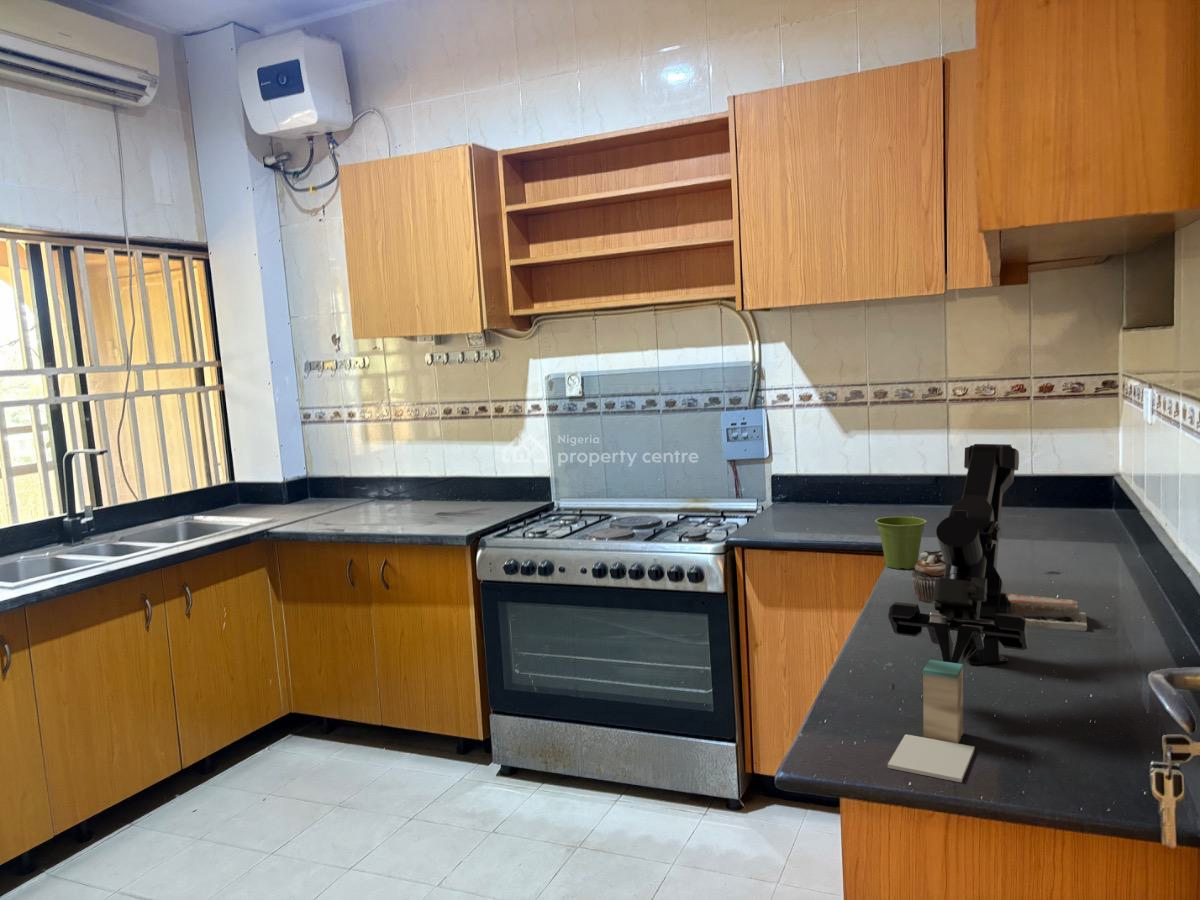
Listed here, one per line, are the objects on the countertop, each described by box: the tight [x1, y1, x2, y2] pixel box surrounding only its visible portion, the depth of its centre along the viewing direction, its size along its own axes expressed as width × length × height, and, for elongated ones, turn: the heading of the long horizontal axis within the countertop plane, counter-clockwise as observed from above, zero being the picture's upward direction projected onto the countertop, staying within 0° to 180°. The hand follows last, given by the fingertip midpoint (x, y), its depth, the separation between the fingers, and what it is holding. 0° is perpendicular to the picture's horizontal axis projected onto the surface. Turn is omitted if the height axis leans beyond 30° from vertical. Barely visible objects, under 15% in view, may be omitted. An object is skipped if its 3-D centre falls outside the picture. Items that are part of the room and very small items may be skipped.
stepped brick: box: [1007, 593, 1088, 632], centre depth 173 cm, size 18×5×10 cm
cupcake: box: [911, 550, 946, 605], centre depth 189 cm, size 10×10×10 cm
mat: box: [887, 734, 976, 783], centre depth 118 cm, size 10×9×1 cm
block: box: [922, 659, 964, 744], centre depth 124 cm, size 4×4×10 cm
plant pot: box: [874, 516, 928, 570], centre depth 217 cm, size 12×12×11 cm
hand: (949, 677), depth 128 cm, fingers closed
